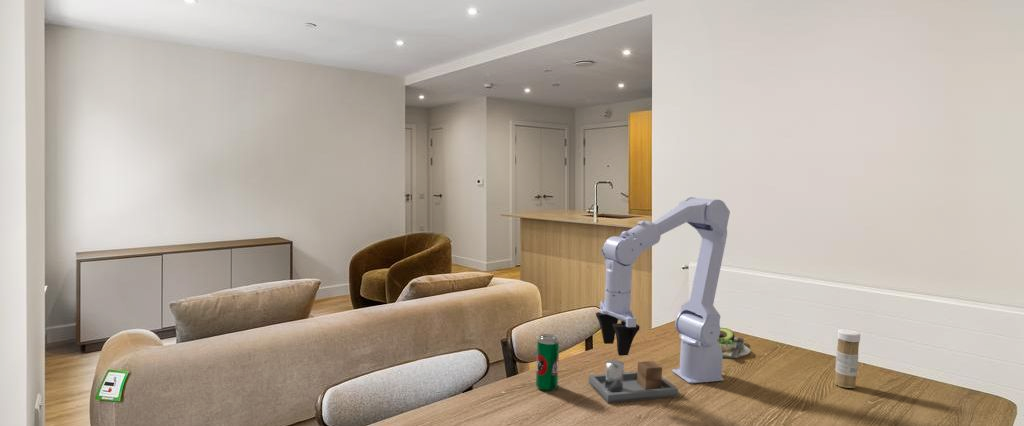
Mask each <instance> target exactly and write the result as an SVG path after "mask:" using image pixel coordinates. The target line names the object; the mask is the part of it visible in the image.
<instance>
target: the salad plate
mask: <svg viewBox="0 0 1024 426" xmlns="http://www.w3.org/2000/svg"><path fill="white" fill-rule="evenodd" d="M717 342H718V343H719V344H720V346H721V349H722V353H723V358H722V359H738V358H740V357H744V356H747V355H750V353H751V349H750V348H749V347H748V346H746V345H745V344H744V342H745V340H744V338H742V337H737V338H736V337H735V333H734V331H733V330H731V329H729V328H727V327H720V336H719V338H718V340H717Z"/></svg>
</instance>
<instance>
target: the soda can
mask: <svg viewBox="0 0 1024 426" xmlns="http://www.w3.org/2000/svg"><path fill="white" fill-rule="evenodd" d="M559 355H560V341H559V338H558V336H557V335H556V334H552V333H542V334H539V336H538V339H537V341H536V366H535V368H536V373H535V386H536V387H537V389H538V390H540V391H543V392H544V391H545V392H551V391H555V390H556V389H557V388H558V386H559V385H558V384H559V364H560V363H559V360H560V358H559V357H560V356H559Z"/></svg>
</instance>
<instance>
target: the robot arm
mask: <svg viewBox="0 0 1024 426" xmlns="http://www.w3.org/2000/svg"><path fill="white" fill-rule="evenodd" d="M730 214H731V211H730V209H729V208H728V206H727V205H726V203H725V202H724V201H723V200H721V199H708V198H700V197H698V198H697V197H693V196H690V197H686V199H683V200H681V201H679V202H678V205H677V206H675V207H674V208H673V209H670V210H669V211H668V212H666V213H664V214H663V215H662V216H660V217H659V218H657V219H655V220H654V221H649V220H640V221H637V223H636V224H637V225H636V226H634V227H632V228H630V229H628V230H624V231H622V232H621V233H620V235H619V236H618V235H617V236H616V235H615V236H613V235H612V236H610V237H609V238H607V239H606V240H605V242H604V243H603V247H601V250H600V252H601V255H602V257H603V259H604V263H605V264H604V266H605V267H606V268H605V284H604V285H605V287H604V288H605V290H604V291H605V292H604V300H601V301H600V302H599V311H598V312H595V316H596V318H597V320H598V323H599V326H600V330H601V337H602V341H603V343H604V344H605V345H610V344H614V342H615V339H616V349H617V355H618V356H621V357H622V356H623V357H624V356H629V353H630V350H631V345H632V343H633V341H634V338H635V336H636V335H637V333H638V332H639V331H640V328H641V327H640V325H638V324H637V317H635V316H634V314H633V311H632V310H631V301H632V299H631V298H632V278H633V277H632V276H633V275H632V274H633V264H635V263H636V262H637V259H638V258H639V256H640V254H642V253H644V252H645V251H647V250H648V249H649V248H652V247H654V246H655V245H656V244H658V243H659V242H660V240H661V238H662V237H661V235H664V234H666V233H668V232H670V231H672V230H675V228H677V227H680V226H682V225H684V224H685V223H687V224H688V225H689V226H691V227H692V228H693V229H695V230H696V231H697V233H698V234H699V235H700V237H701V242H700V248H699V253H698V257H697V261H696V262H697V263H696V267H695V272H694V277H693V281H692V282H693V283H692V287H691V292H690V296H689V300H688V301H685V302H684V303H682V305H681V306H680V310H679V313H678V314H677V316H676V318H675V321H674V326H675V330H676V332H677V333H678V334H679V335H678V337H679V338H680V354H679V355H680V356H679V368H673V369H672V370H671V372H673V373H674V374H675V375H677V376H678V377H680V378H681V379H682V380H684V381H685V382H686V383H688V384H699V383H709V382H710V383H711V382H720V381H724V378H723V377H722V373H723V372H722V370H723V359H724V358H723V353H722V349H721V346H720V344H719V343H718V342H717V340H718V338H719V336H720V328H721V325H720V322H721V314H719V313H720V312H719V311H718V310H717V309H716V307H715V305H714V302H715V297H716V293H717V288H718V283H719V278H720V272H721V267H722V263H723V257H724V252H725V248H726V244H727V238H728V223H729V219H730ZM619 321H620V323H618V322H619Z"/></svg>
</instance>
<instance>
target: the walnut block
mask: <svg viewBox="0 0 1024 426" xmlns="http://www.w3.org/2000/svg"><path fill="white" fill-rule="evenodd" d="M637 372H638V373H637V383H638V384H639V385H640V386H641V387H643V388H644V389H645V390H649V389H660V388H661V381H662V377H663V366H661V365H659V364H658V363H657V362H656V361H654V360H650V361H649V360H647V361H638V362H637Z"/></svg>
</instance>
